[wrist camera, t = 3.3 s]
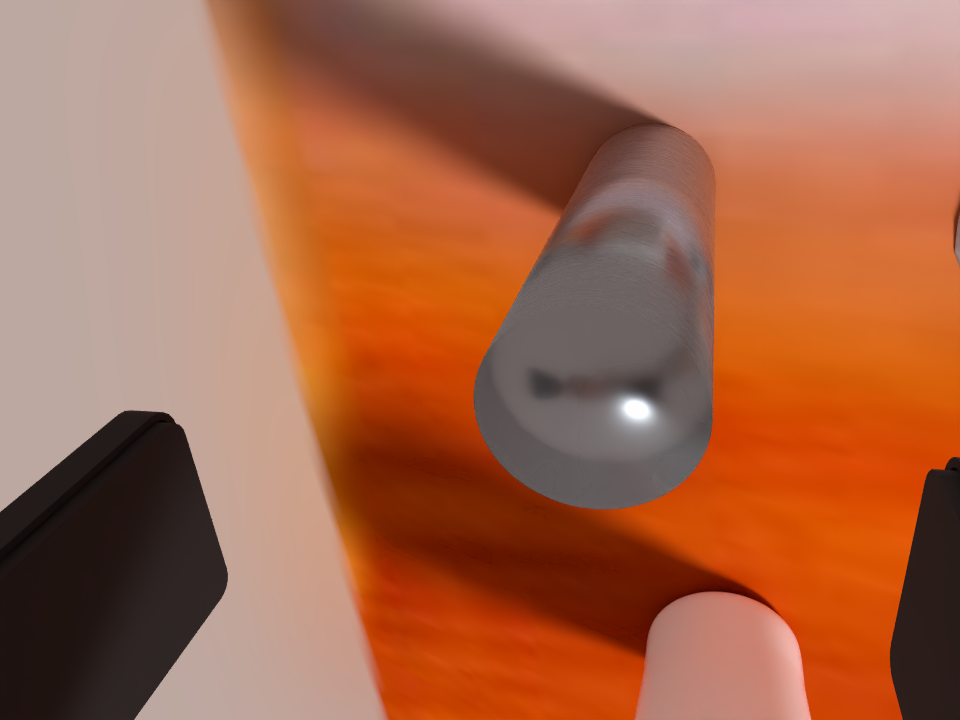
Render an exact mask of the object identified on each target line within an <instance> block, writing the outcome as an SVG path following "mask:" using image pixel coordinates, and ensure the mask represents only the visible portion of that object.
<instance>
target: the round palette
mask: <svg viewBox="0 0 960 720" xmlns="http://www.w3.org/2000/svg"><path fill="white" fill-rule="evenodd" d="M955 255H956V258H957V261H958V264H959V266H960V214H959V219H958V224H957V233H956V242H955Z"/></svg>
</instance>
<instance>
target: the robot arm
mask: <svg viewBox="0 0 960 720" xmlns="http://www.w3.org/2000/svg"><path fill="white" fill-rule="evenodd" d="M227 581H228V573H227V568H226V565H225V561H224V558H223V555H222V551H221V548H220V545H219V542H218V538H217V535H216V532H215V529H214V525H213V522H212V519H211V516H210V512H209V509H208V506H207V503H206V500H205V496H204V493H203V490H202V487H201V483H200V480H199V477H198V474H197V470H196V467H195V464H194V461H193V458H192V454H191V451H190V448H189V444H188V441H187V438H186V435H185V432H184V430H183V428H182V427H181V426H180V425H178V424H176V423H175V421H174V419H173V418H172V417H171V416H170V415H169V414H167V413H164V412H149V411H124V412H122V413H120V414H119V415H118V416H116V417H115V418H114V419H112V420H111V421H110V422H109V423H108V424H107V425H105V426H104V427H103V428H102V429H100V430H99V431H98V432H97V433H95V434H94V435H93V436H92V437H91V438H90V439H88V440H87V441H86V442H85V443H83V444H82V445H81V446H80V447H78V448H77V449H76V450H75V451H74V452H72V453H71V454H70V455H69V456H68V457H66V458H65V459H64V460H63V461H62V462H60V463H59V464H58V465H57V466H55V467H54V468H53V469H52V470H51V471H49V472H48V473H47V474H46V475H45V476H43V477H42V478H41V479H40V480H39V481H37V482H36V483H35V484H34V485H33V486H31V487H30V488H29V489H28V490H26V492H24V493H23V494H22V495H20V496H19V497H18V498H17V499H16V500H15V501H13V502H12V503H11V504H10V505H8V506H7V507H6V508H5V509H4V510H2V511H1V512H0V720H134V719H135V718H136V716H137V715H138V713H139V712H140V711H141V709H142V708H143V706H144V705H145V704H146V702H147V701H148V699H149V698H150V697H151V695H152V694H153V692H154V691H155V690H156V688H157V687H158V686H159V684H160V682H161V681H162V680H163V678H164V677H165V676H166V674H167V673H168V671H169V670H170V669H171V667H172V666H173V665H174V663H175V662H176V661H177V659H178V658H179V656H180V655H181V653H182V652H183V651H184V649H185V648H186V647H187V645H188V644H189V642H190V641H191V640H192V638H193V637H194V635H195V634H196V633H197V631H198V630H199V629H200V627H201V626H202V624H203V623H204V622H205V620H206V619H207V617H208V616H209V615H210V613H211V612H212V610H213V609H214V608H215V606H216V605H217V603H218V602H219V601H220V599H221V598H222V596H223V594H224V592H225V589H226V586H227ZM890 667H891V675H892V679H893V684H894V687H895V691H896V695H897V699H898V703H899V706H900V710H901V714H902V718H903V720H960V457H953V458H951V459H950V460H949V461H948V463H947V465H946V468H945V470H937V469H932V470H930V471H929V472H928V474H927V477H926V480H925V484H924V489H923V494H922V499H921V504H920V508H919V513H918V518H917V523H916V527H915V532H914V537H913V542H912V546H911V551H910V556H909V561H908V566H907V570H906V575H905V580H904V585H903V589H902V594H901V599H900V604H899V608H898V613H897V618H896V623H895V628H894V632H893V637H892V642H891V648H890Z"/></svg>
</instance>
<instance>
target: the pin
mask: <svg viewBox="0 0 960 720" xmlns="http://www.w3.org/2000/svg"><path fill="white" fill-rule="evenodd" d="M714 265H715V175H714V170H713V167H712V163H711V161H710V159H709V157H708V155H707V154H706V152H705V151H704V149H703V148H702V147H701V145H700V144H699V143H698V142H697V141H696V140H695V139H693V138H692V137H691V136H690V135H688V134H686V133H685V132H683V131H681V130H679V129H677V128H674V127H671V126H667V125H662V124H641V125H637V126H632V127H629V128H627V129H624V130H622V131H620V132H618V133H616V134H615V135H613V136H612V137H611V138H609V139H608V140H607V141H606V142H605V143H604V144H603V145H602V146H601V147H600V148H599V149H598V151H597V152H596V153H595V155H594V157H593V158H592V160H591V162H590V164H589V166H588V167H587V169H586V171H585V173H584V175H583V177H582V178H581V180H580V182H579V184H578V186H577V188H576V189H575V191H574V193H573V195H572V197H571V199H570V200H569V202H568V204H567V206H566V208H565V210H564V211H563V213H562V215H561V217H560V219H559V221H558V222H557V224H556V226H555V228H554V230H553V232H552V233H551V235H550V237H549V239H548V241H547V243H546V244H545V246H544V248H543V250H542V252H541V254H540V255H539V257H538V259H537V261H536V263H535V265H534V266H533V268H532V270H531V272H530V274H529V276H528V277H527V279H526V281H525V283H524V285H523V287H522V288H521V290H520V292H519V294H518V296H517V298H516V299H515V301H514V303H513V305H512V307H511V309H510V310H509V312H508V314H507V316H506V318H505V320H504V321H503V323H502V325H501V327H500V329H499V331H498V332H497V334H496V336H495V338H494V340H493V342H492V343H491V345H490V347H489V349H488V351H487V353H486V354H485V356H484V358H483V361H482V363H481V365H480V367H479V370H478V373H477V377H476V381H475V388H474V409H475V414H476V420H477V423H478V426H479V429H480V432H481V434H482V436H483V438H484V440H485V442H486V444H487V446H488V447H489V449H490V451H491V452H492V454H493V455H494V457H495V458H496V459H497V460H498V461H499V463H500V464H501V465H502V466H503V467H504V468H505V469H506V470H507V471H508V472H509V473H510V474H511V475H512V476H513V477H515V478H516V479H517V480H519V481H520V482H521V483H523V484H524V485H526V486H527V487H529V488H530V489H532V490H534V491H535V492H537V493H539V494H541V495H543V496H546V497H548V498H550V499H553V500H555V501H558V502H561V503H564V504H568V505H572V506H576V507H582V508H589V509H621V508H626V507H632V506H636V505H640V504H643V503H647V502H649V501H652V500H654V499H656V498H659V497H661V496H663V495H665V494H666V493H668V492H670V491H671V490H673V489H674V488H676V487H677V486H678V485H679V484H681V483H682V482H683V481H684V480H685V479H686V478H687V477H688V476H689V475H690V474H691V473H692V472H693V471H694V469H695V468H696V466H697V465H698V464H699V462H700V461H701V459H702V457H703V455H704V453H705V451H706V449H707V446H708V443H709V439H710V436H711V430H712V422H713V346H714Z"/></svg>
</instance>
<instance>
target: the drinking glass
mask: <svg viewBox="0 0 960 720" xmlns="http://www.w3.org/2000/svg"><path fill="white" fill-rule="evenodd" d="M634 720H811V716H810V711H809V706H808V701H807V696H806V691H805V685H804V676H803V667H802V659H801V653H800V648H799V645H798V642H797V639H796V637H795V635H794V633H793V631H792V630H791V629H790V627H789V626H788V624H787V623H786V622H785V621H784V620H783V619H782V618H781V617H780V616H779V615H778V614H777V613H776V612H774V611H773V610H772V609H770V608H769V607H767V606H766V605H764V604H762V603H760V602H758V601H756V600H754V599H751V598H748V597H746V596H742V595H739V594H734V593H728V592H718V591H710V592H700V593H694V594H690V595H687V596H684V597H681V598H679V599H677V600H675V601H673V602H672V603H670V604H669V605H667V606H666V607H665V608H664V609H662V611H661V612H660V613H659V614H658V615H657V616H656V618H655V619H654V621H653V623H652V625H651V627H650V630H649V634H648V638H647V646H646V656H645V666H644V673H643V679H642V684H641V689H640V694H639V699H638V704H637V709H636V714H635V719H634Z"/></svg>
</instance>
